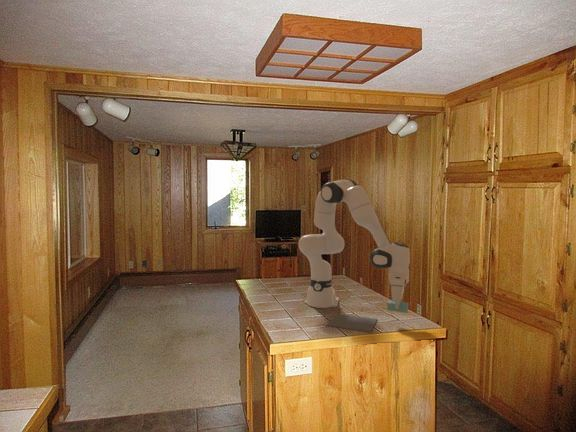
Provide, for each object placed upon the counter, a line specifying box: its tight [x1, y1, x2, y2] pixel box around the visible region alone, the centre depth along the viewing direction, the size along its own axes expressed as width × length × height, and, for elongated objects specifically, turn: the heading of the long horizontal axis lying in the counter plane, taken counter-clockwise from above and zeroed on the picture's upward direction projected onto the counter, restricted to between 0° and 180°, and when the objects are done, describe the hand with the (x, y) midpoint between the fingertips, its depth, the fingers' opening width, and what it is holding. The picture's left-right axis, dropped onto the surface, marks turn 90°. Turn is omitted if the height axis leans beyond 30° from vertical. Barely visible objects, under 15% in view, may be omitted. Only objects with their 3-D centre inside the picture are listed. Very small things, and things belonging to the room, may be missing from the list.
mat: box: [326, 313, 378, 333], centre depth 181 cm, size 18×20×1 cm
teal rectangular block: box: [386, 299, 410, 314], centre depth 179 cm, size 4×9×4 cm, turn 67°
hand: (397, 306), depth 179 cm, fingers closed on teal rectangular block, 5 cm apart
